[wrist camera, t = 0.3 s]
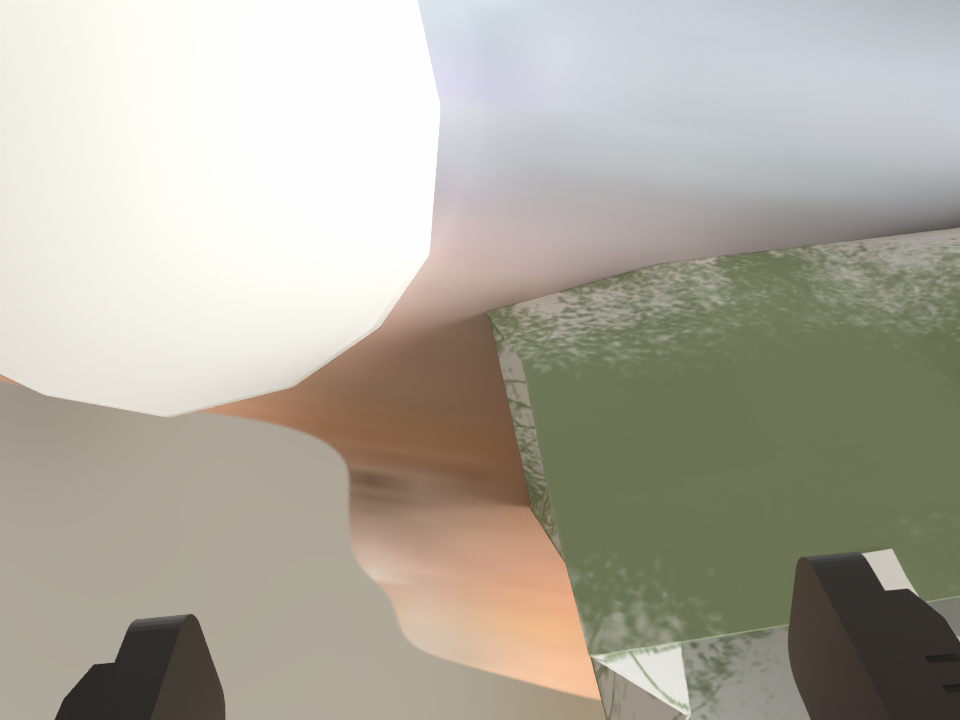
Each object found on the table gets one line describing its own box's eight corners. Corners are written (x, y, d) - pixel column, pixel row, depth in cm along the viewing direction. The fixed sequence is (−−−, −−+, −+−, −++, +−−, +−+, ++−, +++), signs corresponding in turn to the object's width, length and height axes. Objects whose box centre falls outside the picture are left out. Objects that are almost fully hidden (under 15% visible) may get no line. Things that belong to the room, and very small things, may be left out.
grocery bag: (533, 525, 48) (602, 1011, 28) (482, 298, 41) (525, 726, 21) (1143, 413, 46) (1689, 851, 26) (1197, 154, 39) (1996, 478, 19)
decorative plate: (-137, 443, 39) (-383, -232, 27) (-89, 393, 43) (-287, -223, 31) (433, 449, 41) (447, -188, 28) (433, 400, 44) (445, -184, 32)
